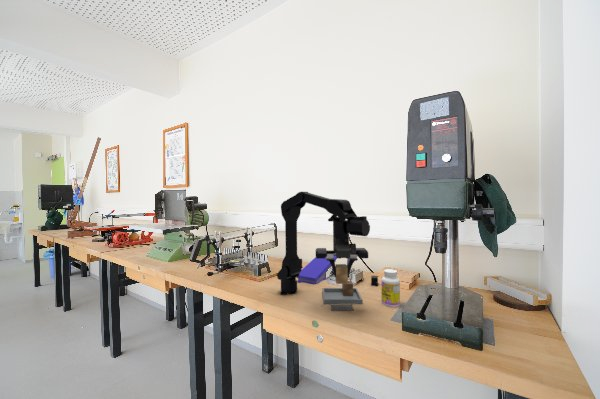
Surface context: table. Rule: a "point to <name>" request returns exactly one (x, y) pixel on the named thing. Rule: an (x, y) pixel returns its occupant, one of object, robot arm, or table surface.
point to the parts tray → (340, 296)
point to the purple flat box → (315, 271)
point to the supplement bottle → (390, 288)
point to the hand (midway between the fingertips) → (341, 276)
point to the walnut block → (347, 289)
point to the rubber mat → (341, 308)
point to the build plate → (374, 280)
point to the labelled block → (341, 274)
